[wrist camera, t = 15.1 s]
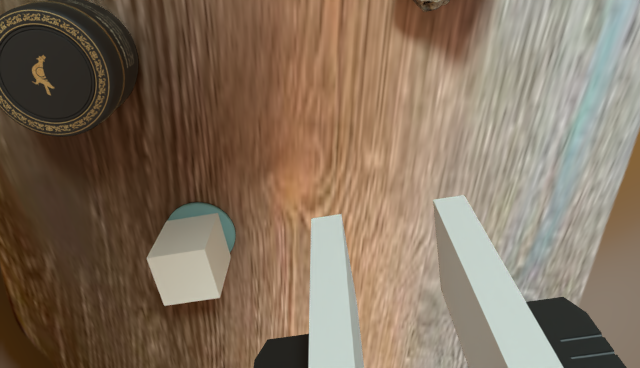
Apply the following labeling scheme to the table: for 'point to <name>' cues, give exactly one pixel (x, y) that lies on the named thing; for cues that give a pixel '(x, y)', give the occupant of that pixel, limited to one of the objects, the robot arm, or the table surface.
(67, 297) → the table surface
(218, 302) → the table surface
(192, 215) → the teal post on base
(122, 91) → the jar
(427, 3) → the rock
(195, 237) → the white rectangular block
